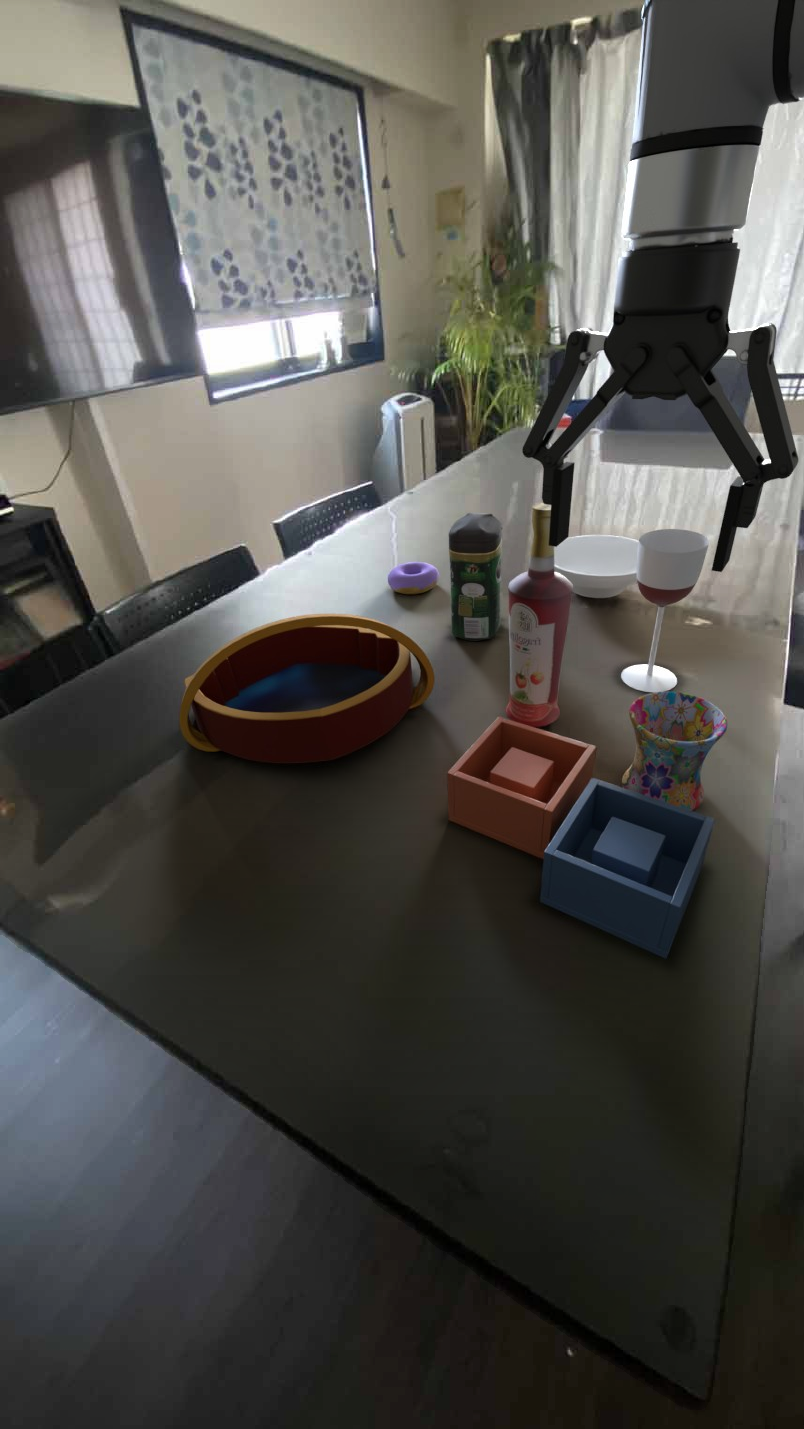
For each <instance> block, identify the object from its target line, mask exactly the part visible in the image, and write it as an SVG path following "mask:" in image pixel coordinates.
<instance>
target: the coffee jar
mask: <svg viewBox="0 0 804 1429" xmlns="http://www.w3.org/2000/svg"><path fill="white" fill-rule="evenodd" d="M502 526H503V525H502V522H501V521H500V519H499V518H498V517H496V516H495V515H494V514H493V513H489V512H467V513H465V515H463V516H461V517H460V518H459V519H457V520H456V521H455V522H454V523H453V524H452V526H451V527H450V529H449V531H448V556H449V574H450V575H449V578H450V579H449V580H450V619H451V620H450V622H451V623H450V624H451V626H450V628H451V633H452V635H453V636H454V637H456V638H459V639H462V640H465V641H471V642H479V641H483V640H489V639H492V638H494V637H495V635H496V634H497V632H498V631H499V629H500V626H501V622H502V545H503V544H502V542H503V527H502Z"/></svg>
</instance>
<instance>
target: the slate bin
mask: <svg viewBox="0 0 804 1429" xmlns="http://www.w3.org/2000/svg"><path fill="white" fill-rule="evenodd" d="M611 817H615V818H618V819H621V820H623V821H626V822H629V823H632V824H635V825H637V826H640V827H643V828H646V829H649V830H651V831H654V832H657V833H660V834H663V835H665V836H666V837H665V841H664V846H663V850H662V854H661V858H660V863H659V867H658V871H657V874H656V876H655V878H654V881H653V883H652V885H651V887H647V886H645V885H642V884H640V883H637V882H635V881H632V880H630V879H627V878H625V877H622V876H620V875H617V874H615V873H613V872H610V871H608V870H605V869H603V868H600V867H598V866H595V865H593V864H591V861H592V854H593V849H594V847H595V846H596V844H597V842H598V840H599V839H600V837H601V835H602V833H603V832H604V830H605V828H606V826H607V824H608V823H609V821H610V819H611ZM715 822H716V818H713V817H711V816H709V815H705V814H702V813H699V812H696V811H694V810H692V811H690V810H687V809H684V808H681V807H678V806H675V805H672V804H669V803H666V802H663V801H660V800H657V799H654V798H651V797H648V796H645V795H642V794H639V793H636V792H633V791H630V790H627V789H624V788H623V787H621V786H619V785H615V784H612V783H609V782H606V781H603V780H600V779H597V778H595V777H592V779H591V780H590V782H589V784H588V785H587V787H586V788H585V790H584V791H583V793H582V794H581V796H580V797H579V799H578V801H577V802H576V804H575V805H574V807H573V808H572V810H571V811H570V813H569V814H568V816H567V818H566V819H565V821H564V822H563V824H562V825H561V827H560V828H559V830H558V831H557V833H556V835H555V836H554V838H553V839H552V841H551V842H550V844H549V845H548V847H547V848H546V850H545V851H544V859H543V861H542V862H543V864H542V875H541V887H540V898H539V902H540V903H542V904H544V905H546V906H549V907H550V908H552V909H555V910H557V911H560V912H561V913H563V914H566V915H569V916H571V917H573V918H575V919H577V920H579V921H582V922H584V923H586V924H587V925H591V926H593V927H595V928H597V929H600V930H601V931H604V932H606V933H608V934H611V935H612V936H614V937H617V938H619V939H622V940H623V941H626V942H628V943H630V944H632V945H635V946H636V947H639V948H641V949H643V950H646V951H648V952H650V953H652V954H654V955H657V956H659V957H661V958H663V959H668V955H669V952H670V950H671V948H672V945H673V942H674V940H675V937H676V935H677V932H678V929H679V927H680V925H681V922H682V919H683V917H684V914H685V911H686V909H687V906H688V904H689V901H690V899H691V897H692V893H693V891H694V888H695V885H696V883H697V880H698V878H699V875H700V873H701V870H702V868H703V863H704V860H705V857H706V853H707V849H708V846H709V843H710V839H711V836H712V832H713V829H714V826H715Z"/></svg>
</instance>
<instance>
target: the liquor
mask: <svg viewBox="0 0 804 1429" xmlns="http://www.w3.org/2000/svg"><path fill="white" fill-rule="evenodd" d="M531 510H532V512H531V524H532V533H533V534H532V535H533V536H532V543H531V547H530V548H531V550H530V555H529V556H530V557H529V562H528V569H527V571H524V572H522V573H519V574H518V575H517V576H515V577H514V578H512V579H511V580H510V581H509V583H508V585H507V586H508V587H507V592H508V595H507V596H508V640H509V703H508V705H507V706H506V708H505V712H506V715H507V717H508V718H509V720H512V721H515V722H518V723H521V724H524V725H528V726H531V727H534V728H537V729H541V728H543V727H546V726H548V725H550V724H552V723H554V722H555V721H557V719H559V717H560V714H561V712H560V708H559V706H558V697H559V689H560V681H561V672H562V667H563V666H562V665H563V657H564V653H565V646H566V639H567V633H568V626H569V620H570V611H571V604H572V598H573V584H572V583H571V582H570V581H569V580H568V579H567V578H566V577H564V576H563V575H562V574H560V573H557V572H555V563H554V546H549V531H550V516H551V505H547V504H544V503H543V501H541V502H537V503H534V504H532V509H531Z"/></svg>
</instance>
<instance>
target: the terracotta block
mask: <svg viewBox="0 0 804 1429" xmlns="http://www.w3.org/2000/svg"><path fill="white" fill-rule="evenodd" d="M553 767H554V761H551V760H548V759H545V758H542V757H539V756H536V755H534V754H531V753H528V752H525V751H522V750H519V749H516V748H513V747H512V748H511V749H510V750H509V751H508V752H507V754H506V755H505V756H504V757H503V758H502V759H501V760H500V762H499V763H498V764H497V765H496V766H495V767H494V768H493V770H492V771H491V772H490V783H491V784H493V785H496V786H499V787H502V788H504V789H507V790H510V791H512V792H515V793H518V794H521V795H523V796H526V797H529V798H531V799H534V800H537V801H540V802H542V803H545V804H546V802H547V801H548V800H549V798H550V797H551V790H552V779H553Z"/></svg>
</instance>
